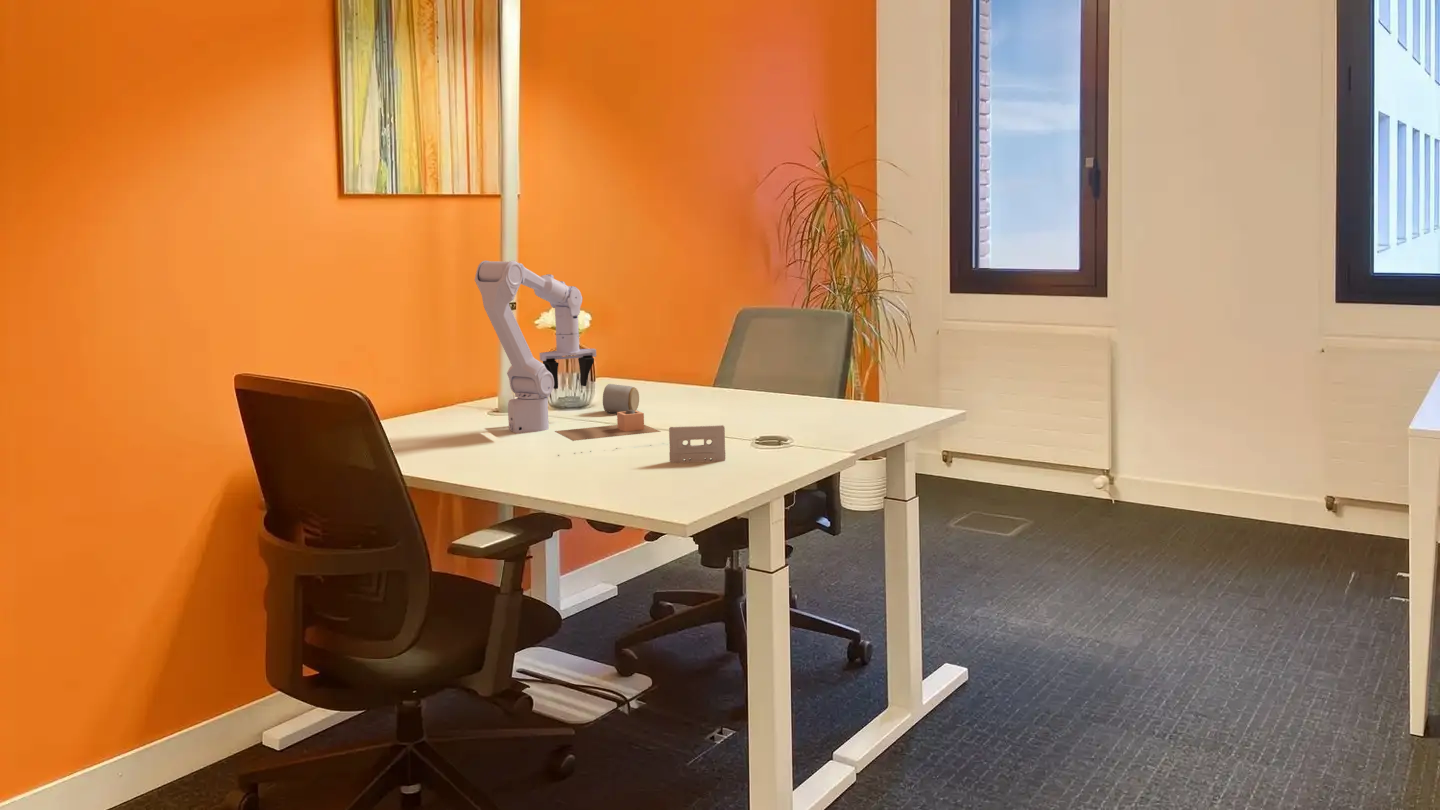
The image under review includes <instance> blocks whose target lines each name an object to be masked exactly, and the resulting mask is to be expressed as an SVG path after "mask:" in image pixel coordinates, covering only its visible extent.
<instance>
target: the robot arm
mask: <svg viewBox="0 0 1440 810" xmlns="http://www.w3.org/2000/svg"><path fill="white" fill-rule="evenodd" d="M554 277H555V276H554V275H553V274H550V273H549V274H544V275H538V274H537V273H535V272H534V271H532V270H531V269H528V268H527V267H525V266H524V264H523V263H521V262H518V261H515V260H511V261H510V260H509V261H505V260H504V261H503V260H502V261H498V260H497V261H495V260H494V261H493V260H492V261H490V260H483V261H481V262H480V263H479V264H478V265H477V268H476V272H475V277H474V281H475V284H476V285H477V288H478V290H479V292H480V295H481V299H482V305H483V307H484V311H485V313H486V315H487V316H488V319H489V320H490V323H491V325H492V328H493V329H494V332H495V333H496V335H497V338H498V340H499V342H500V344H501V345H502V346H501V347H502V348H503V350H504V352H505V355H506V356H507V358H508V360H509V363H510V367H509V368H508V370H507V372H506V375H507V376H508V380H509V387H510V389H511V391H512V393H513V394H514V397H515V398H512V399H509V400H508V402H507V416H508V430H509V431H511V432H513V434H514V433H515V434H521V433H537V432H544V431H547V430H549V428H550V425H549V421H550V420H549V403H548V397H550V396H551V394H552V393H553V390H554V389H555V390H556V389H559V379H558V378H559V377H558V374H559V373H558V372H559V362H558V361H557V360H567V359H578V365H579V374H580V375H579V376H580V379H579V380H580V386H582V387H587V384H588V379H589V374H590V371H591V369H592V366H593V364H594V362H595V358H596V357H597V349H596V348H580V333H579V315H580V313H581V306H582V305H583V304H582V303H583V296H582V293H581V291H580V289H579V288H578V287H576V286H573V285H567V284H566V282H565V281H563V280H558V279H555V278H554ZM521 285H522V286H525V287H528V288H530V289H532V290H533V292H534V295H536V296H537V297H538V298H540V299H543V300H544V301H546V302H548V303H549V304H550V306H551V308H553V309H554V317H555V318H554V321H555V340H556V341H555V345H556V347H555V348H556V350H553V351H544V352H539V360H538V359H537V358H535V357H534V355H533V353H532V351H531V349H530V347H529V344H528V343H527V341H526V338H525V336H524V334H523V332H522V330H521V328H520V325H519V323H518V321H517V319H516V317H515V315H514V313H513V311H512V308H511V306H510V303H511V302H513V301H514V299H515V297H516V295H517V293H518V292H519V291H518V290H519V288H520V287H521Z"/></svg>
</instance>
